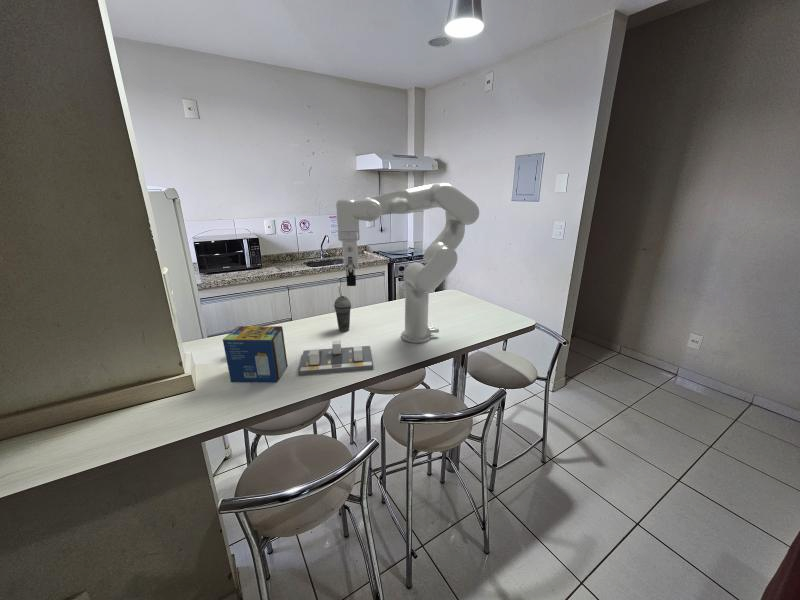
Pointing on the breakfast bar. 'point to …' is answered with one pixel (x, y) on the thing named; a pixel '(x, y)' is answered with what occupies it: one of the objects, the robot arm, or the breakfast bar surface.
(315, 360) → the switch
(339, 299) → the beverage cup
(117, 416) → the breakfast bar surface
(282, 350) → the protein box
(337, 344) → the switch middle
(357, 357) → the switch
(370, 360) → the switch panel
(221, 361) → the breakfast bar surface
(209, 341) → the breakfast bar surface
